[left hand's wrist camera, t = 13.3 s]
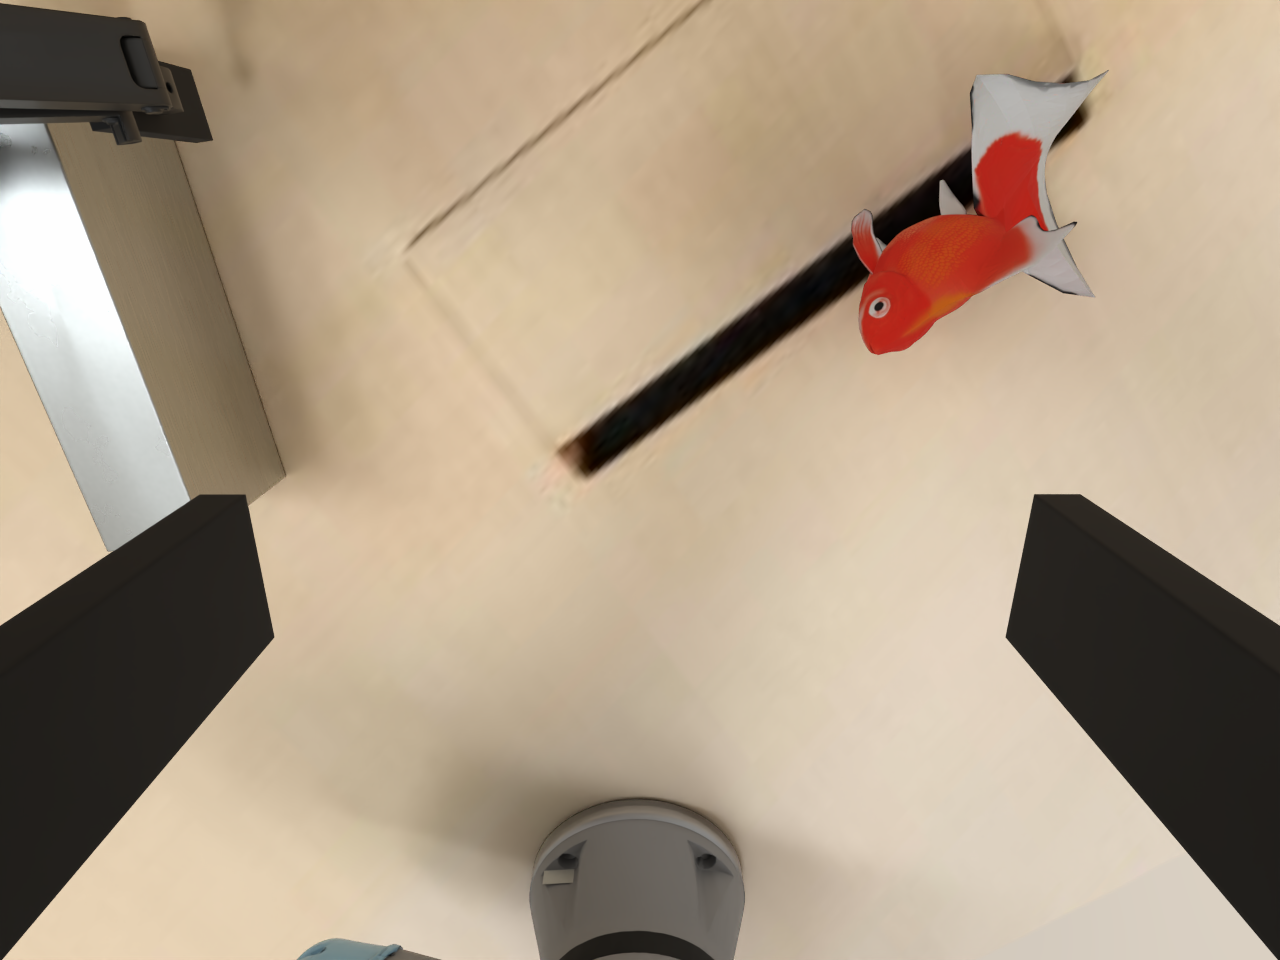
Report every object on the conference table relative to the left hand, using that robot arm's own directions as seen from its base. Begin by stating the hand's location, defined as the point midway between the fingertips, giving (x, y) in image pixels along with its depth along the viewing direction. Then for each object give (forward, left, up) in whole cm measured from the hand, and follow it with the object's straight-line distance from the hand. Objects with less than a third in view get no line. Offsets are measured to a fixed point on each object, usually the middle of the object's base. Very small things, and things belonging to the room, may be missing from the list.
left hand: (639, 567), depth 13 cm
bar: (+2, +25, -29) cm, 38 cm away
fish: (+6, -16, -29) cm, 34 cm away
